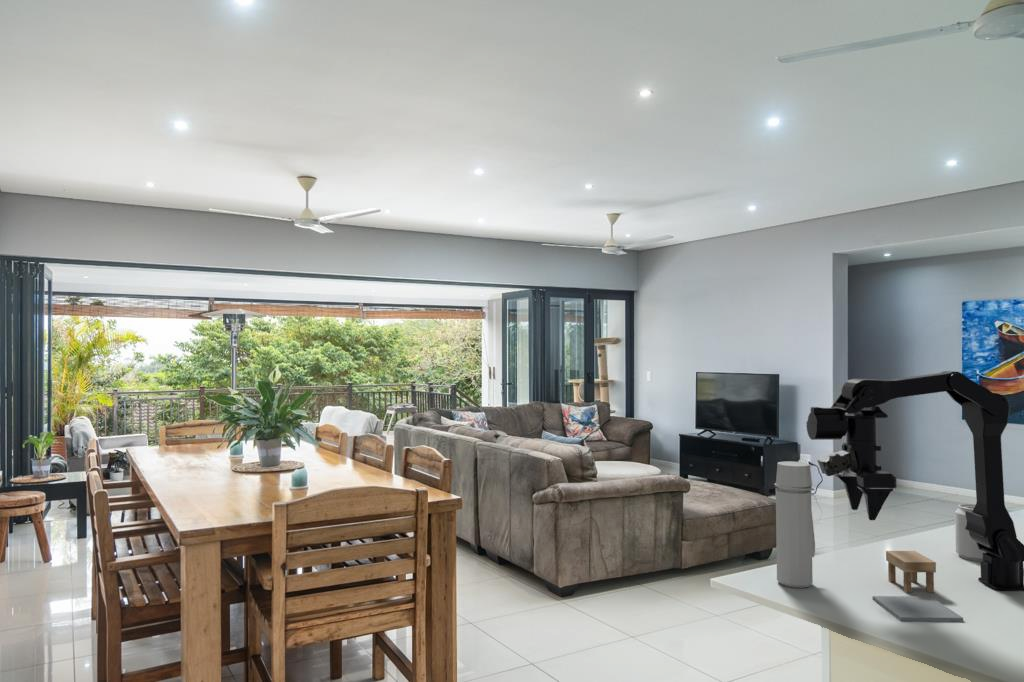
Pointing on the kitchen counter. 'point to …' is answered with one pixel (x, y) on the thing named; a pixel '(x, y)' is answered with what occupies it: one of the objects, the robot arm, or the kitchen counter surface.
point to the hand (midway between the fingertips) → (863, 514)
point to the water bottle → (794, 524)
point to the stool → (911, 568)
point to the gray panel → (916, 608)
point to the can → (965, 535)
